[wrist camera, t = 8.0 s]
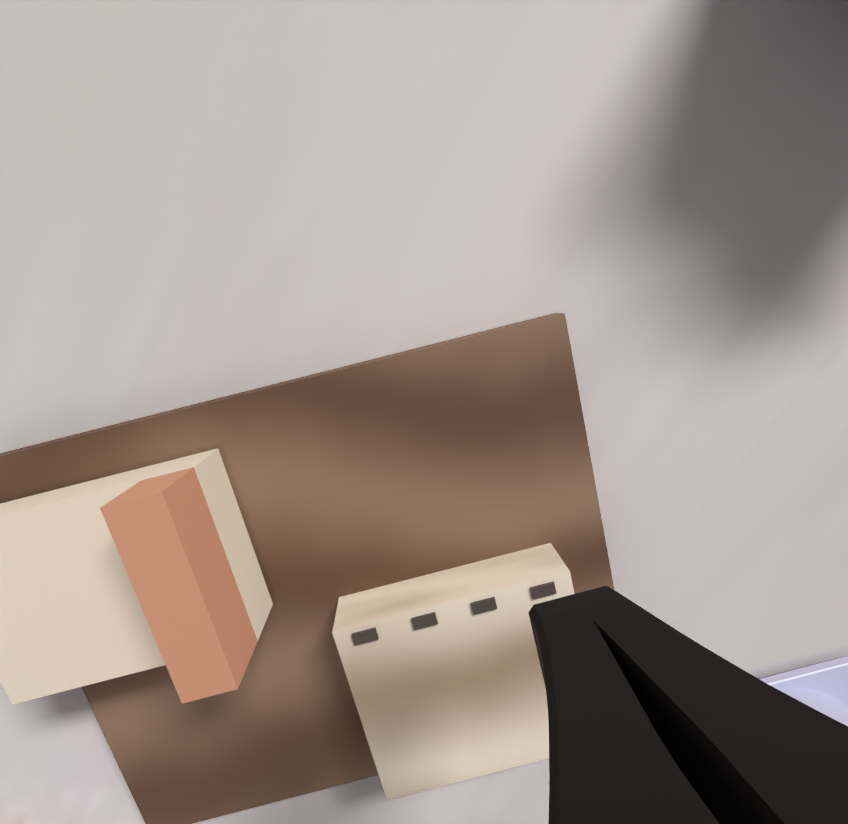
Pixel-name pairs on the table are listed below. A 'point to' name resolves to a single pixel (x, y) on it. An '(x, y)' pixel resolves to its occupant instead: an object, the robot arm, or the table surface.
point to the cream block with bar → (130, 582)
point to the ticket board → (366, 571)
